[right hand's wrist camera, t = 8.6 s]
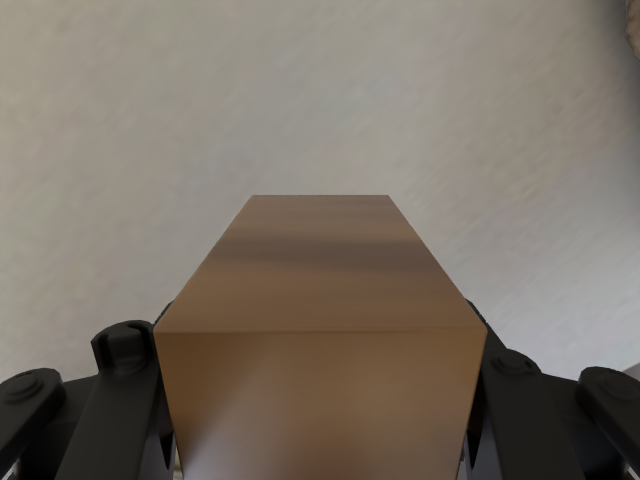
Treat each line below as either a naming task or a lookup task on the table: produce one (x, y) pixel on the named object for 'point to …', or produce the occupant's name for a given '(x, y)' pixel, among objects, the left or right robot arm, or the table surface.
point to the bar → (320, 348)
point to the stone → (633, 25)
